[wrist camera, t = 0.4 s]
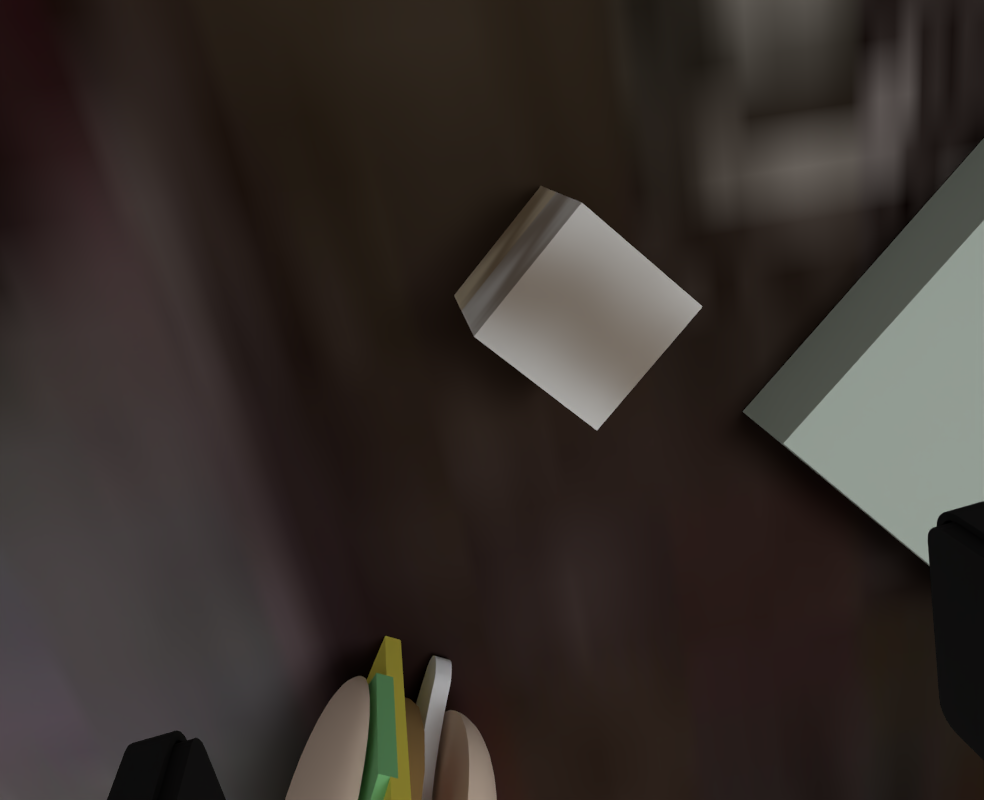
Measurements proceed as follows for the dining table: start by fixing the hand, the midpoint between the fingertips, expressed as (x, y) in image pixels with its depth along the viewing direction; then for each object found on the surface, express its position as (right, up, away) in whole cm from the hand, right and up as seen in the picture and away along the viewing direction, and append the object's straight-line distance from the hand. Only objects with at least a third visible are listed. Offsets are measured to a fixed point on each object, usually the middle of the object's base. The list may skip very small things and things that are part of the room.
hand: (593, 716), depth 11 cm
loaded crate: (+1, +9, +25) cm, 26 cm away
